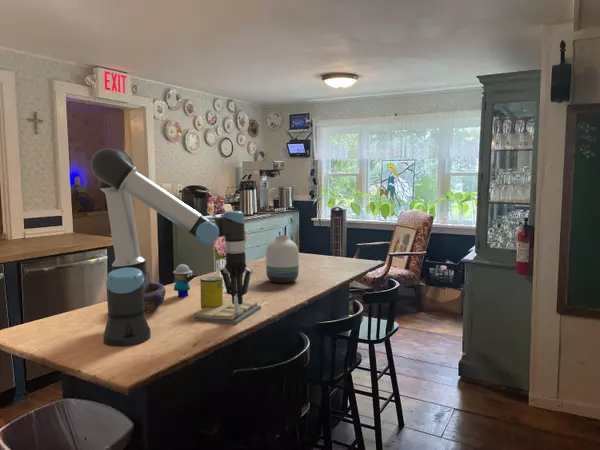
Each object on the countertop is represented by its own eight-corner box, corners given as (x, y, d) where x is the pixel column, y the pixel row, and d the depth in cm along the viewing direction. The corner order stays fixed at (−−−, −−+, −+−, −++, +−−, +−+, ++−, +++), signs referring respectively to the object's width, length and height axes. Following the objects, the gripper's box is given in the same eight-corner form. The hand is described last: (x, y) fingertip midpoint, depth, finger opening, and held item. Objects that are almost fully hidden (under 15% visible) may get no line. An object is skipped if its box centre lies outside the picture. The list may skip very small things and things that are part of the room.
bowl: (117, 318, 179) (116, 293, 178) (122, 306, 197) (121, 283, 195) (165, 315, 184) (165, 290, 183) (166, 303, 201) (165, 280, 200)
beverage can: (220, 303, 197) (220, 275, 196) (224, 308, 188) (224, 279, 187) (199, 305, 193) (198, 277, 192) (202, 310, 185) (202, 281, 184)
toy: (188, 299, 207) (187, 266, 206) (170, 298, 209) (169, 265, 207) (196, 294, 216) (195, 262, 214) (178, 293, 217) (178, 262, 216)
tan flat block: (232, 319, 173) (232, 316, 173) (213, 318, 176) (213, 315, 176) (244, 312, 183) (244, 309, 182) (226, 311, 185) (226, 308, 185)
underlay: (236, 324, 173) (236, 318, 173) (194, 319, 179) (194, 313, 179) (260, 308, 193) (260, 302, 193) (222, 304, 199) (222, 298, 199)
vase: (262, 284, 236) (261, 237, 234) (271, 276, 253) (271, 233, 250) (294, 286, 232) (294, 238, 230) (301, 278, 249) (302, 234, 246)
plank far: (246, 311, 184) (246, 308, 184) (228, 309, 187) (228, 307, 187) (257, 304, 194) (257, 302, 194) (240, 303, 197) (240, 300, 196)
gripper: (255, 250, 177) (257, 310, 179) (225, 249, 181) (227, 308, 184) (246, 253, 170) (248, 316, 172) (215, 252, 174) (218, 313, 177)
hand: (237, 312), depth 178 cm, fingers closed
